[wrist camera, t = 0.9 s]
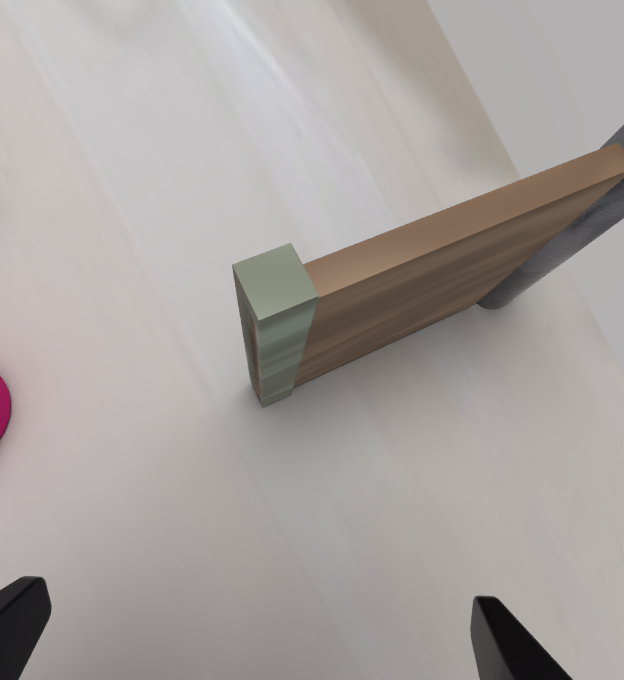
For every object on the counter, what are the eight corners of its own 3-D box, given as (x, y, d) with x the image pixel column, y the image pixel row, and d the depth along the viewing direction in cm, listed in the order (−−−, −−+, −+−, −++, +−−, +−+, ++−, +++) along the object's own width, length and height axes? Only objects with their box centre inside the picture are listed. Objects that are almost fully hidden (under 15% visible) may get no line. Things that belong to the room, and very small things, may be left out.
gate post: (524, 301, 29) (844, 79, 13) (482, 321, 28) (769, 110, 12) (495, 259, 30) (762, 1, 14) (454, 277, 29) (688, 25, 13)
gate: (476, 308, 28) (666, 152, 15) (262, 407, 24) (258, 320, 11) (462, 285, 28) (634, 115, 15) (250, 380, 25) (232, 264, 12)
